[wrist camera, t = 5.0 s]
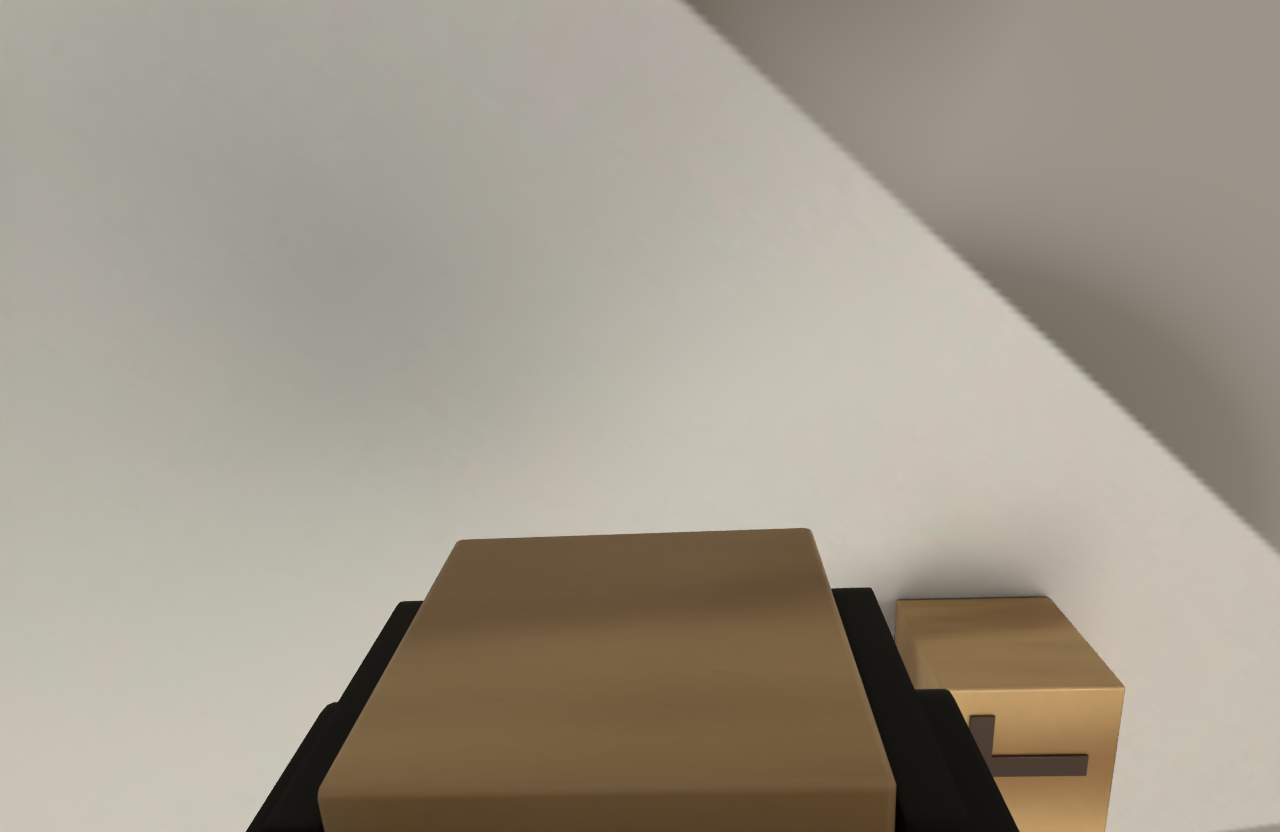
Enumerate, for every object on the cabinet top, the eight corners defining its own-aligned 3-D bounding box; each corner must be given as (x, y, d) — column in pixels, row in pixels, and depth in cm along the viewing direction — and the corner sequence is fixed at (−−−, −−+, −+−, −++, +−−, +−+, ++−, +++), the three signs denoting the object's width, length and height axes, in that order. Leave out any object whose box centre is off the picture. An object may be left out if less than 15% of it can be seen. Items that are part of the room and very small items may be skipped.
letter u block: (455, 537, 11) (305, 802, 7) (811, 524, 11) (903, 792, 6) (494, 821, 12) (392, 1199, 8) (811, 816, 12) (886, 1204, 8)
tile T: (896, 598, 26) (942, 692, 21) (1049, 596, 25) (1128, 689, 21) (890, 726, 27) (932, 839, 22) (1036, 725, 27) (1107, 837, 22)
